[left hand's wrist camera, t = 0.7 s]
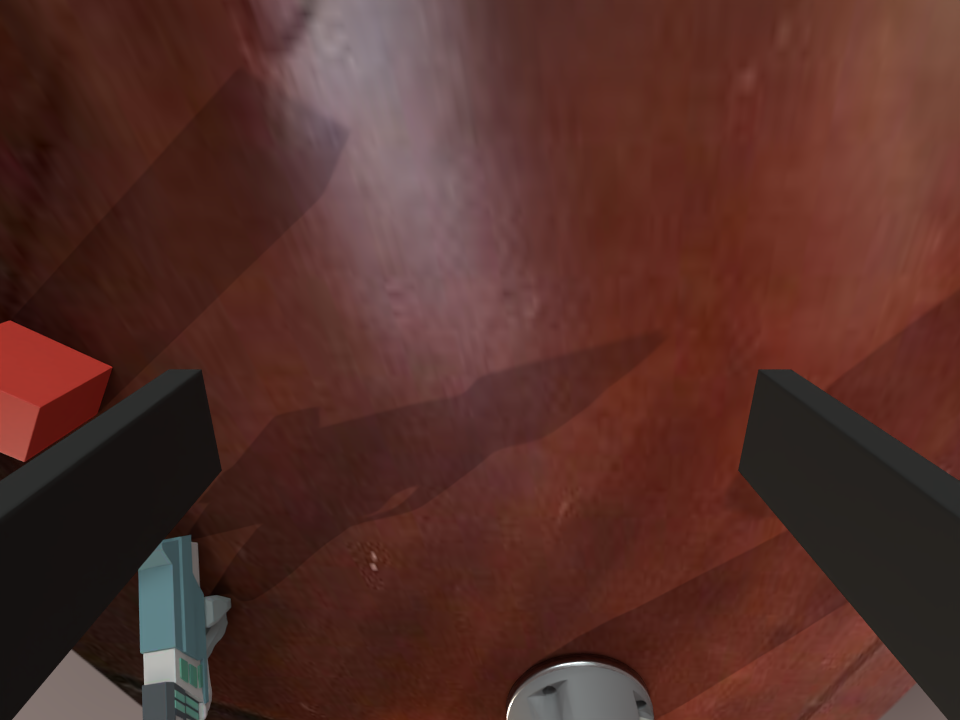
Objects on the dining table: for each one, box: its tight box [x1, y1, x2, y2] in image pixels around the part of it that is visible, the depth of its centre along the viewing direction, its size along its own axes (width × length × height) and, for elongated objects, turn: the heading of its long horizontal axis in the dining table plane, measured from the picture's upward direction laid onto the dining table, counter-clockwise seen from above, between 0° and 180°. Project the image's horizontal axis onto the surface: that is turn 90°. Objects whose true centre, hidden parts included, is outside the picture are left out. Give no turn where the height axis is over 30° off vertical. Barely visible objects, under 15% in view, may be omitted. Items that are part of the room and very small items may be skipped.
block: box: [0, 321, 113, 462], centre depth 39 cm, size 8×5×8 cm, turn 61°
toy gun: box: [138, 535, 231, 720], centre depth 46 cm, size 4×19×10 cm
